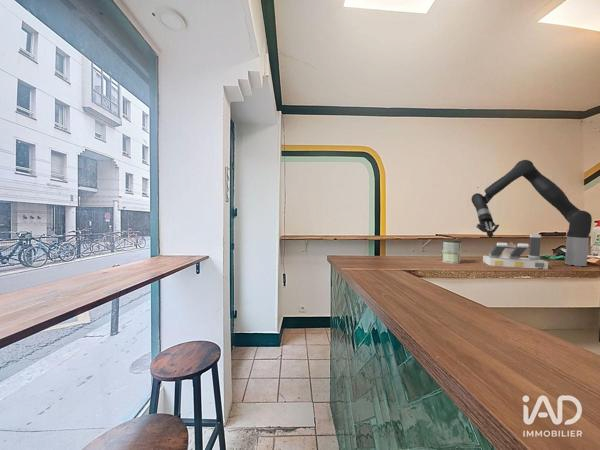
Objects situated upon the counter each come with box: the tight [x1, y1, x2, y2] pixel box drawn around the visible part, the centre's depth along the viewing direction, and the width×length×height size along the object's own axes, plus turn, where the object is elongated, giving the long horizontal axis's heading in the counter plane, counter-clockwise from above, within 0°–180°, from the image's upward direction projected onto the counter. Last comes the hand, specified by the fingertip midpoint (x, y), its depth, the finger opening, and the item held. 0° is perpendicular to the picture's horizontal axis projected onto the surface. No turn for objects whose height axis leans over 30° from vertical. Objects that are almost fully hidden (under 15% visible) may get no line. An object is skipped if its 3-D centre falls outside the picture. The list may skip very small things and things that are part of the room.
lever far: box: [488, 242, 508, 258], centre depth 159 cm, size 5×2×15 cm
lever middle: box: [508, 242, 530, 259], centre depth 156 cm, size 5×2×15 cm
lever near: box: [527, 233, 542, 260], centre depth 158 cm, size 5×2×15 cm, turn 73°
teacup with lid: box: [501, 241, 517, 257], centre depth 181 cm, size 12×9×12 cm
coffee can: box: [441, 238, 462, 264], centre depth 170 cm, size 10×10×14 cm
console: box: [482, 255, 549, 270], centre depth 161 cm, size 28×12×4 cm, turn 73°
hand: (490, 236), depth 170 cm, fingers closed
